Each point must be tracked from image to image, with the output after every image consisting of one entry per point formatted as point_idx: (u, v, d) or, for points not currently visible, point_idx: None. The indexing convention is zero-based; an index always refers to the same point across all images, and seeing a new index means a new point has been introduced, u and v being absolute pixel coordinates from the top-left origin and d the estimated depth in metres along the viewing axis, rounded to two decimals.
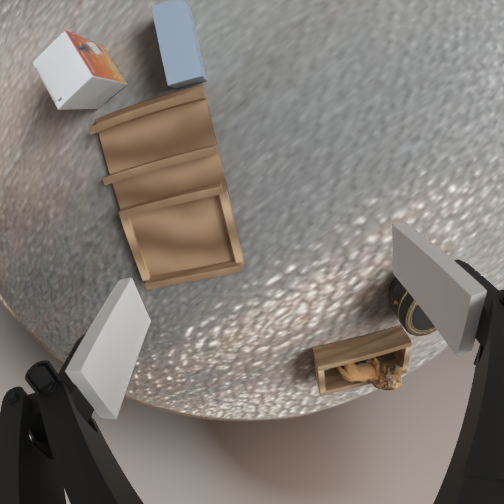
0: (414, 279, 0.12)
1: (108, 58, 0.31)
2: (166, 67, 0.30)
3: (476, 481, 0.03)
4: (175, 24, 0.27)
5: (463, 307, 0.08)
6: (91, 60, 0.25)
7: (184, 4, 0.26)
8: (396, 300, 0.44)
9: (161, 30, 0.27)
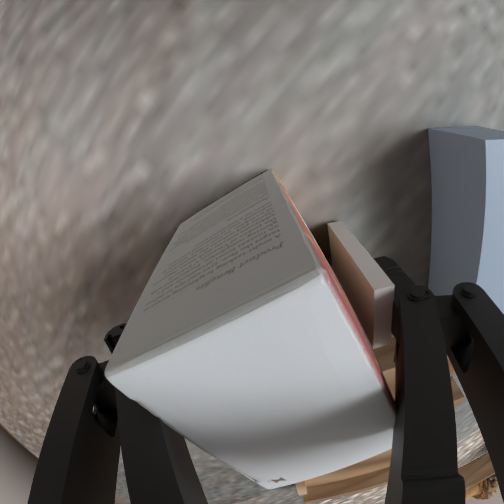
0: (343, 275, 0.14)
1: None
2: None
3: (416, 484, 0.04)
4: None
5: (371, 301, 0.10)
6: None
7: None
8: None
9: (492, 223, 0.11)
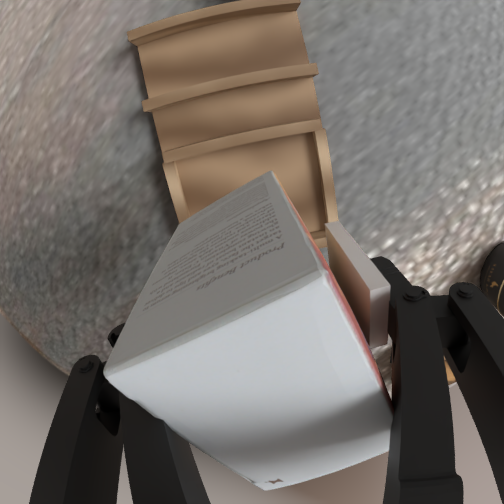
0: (340, 275, 0.14)
1: None
2: None
3: (414, 484, 0.04)
4: None
5: (367, 301, 0.10)
6: None
7: None
8: (495, 281, 0.31)
9: None
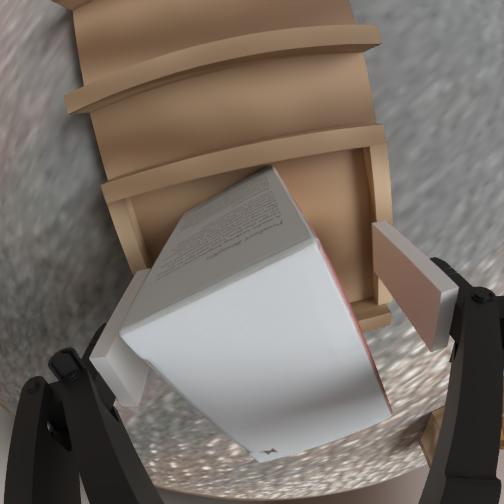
0: (392, 276, 0.13)
1: None
2: None
3: (458, 480, 0.03)
4: None
5: (435, 303, 0.09)
6: None
7: None
8: None
9: None
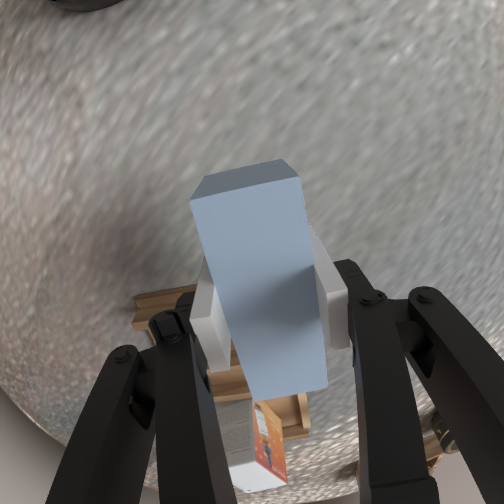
0: None
1: (265, 408, 0.34)
2: (250, 374, 0.14)
3: (385, 490, 0.04)
4: (271, 274, 0.12)
5: (325, 304, 0.11)
6: (277, 462, 0.29)
7: (300, 208, 0.11)
8: (440, 430, 0.38)
9: (230, 288, 0.12)
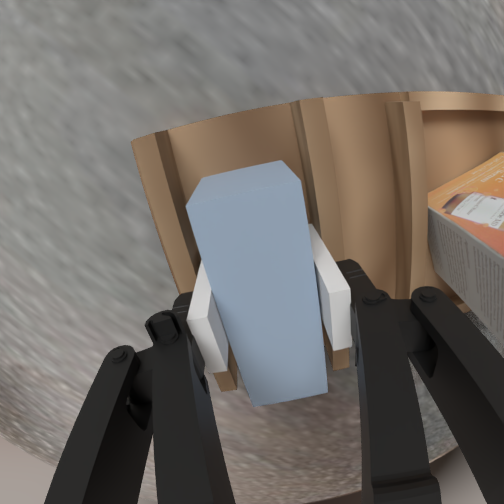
0: None
1: (466, 182, 0.14)
2: (249, 380, 0.14)
3: (387, 489, 0.04)
4: (271, 281, 0.12)
5: (328, 303, 0.11)
6: None
7: (301, 214, 0.11)
8: None
9: (229, 295, 0.12)
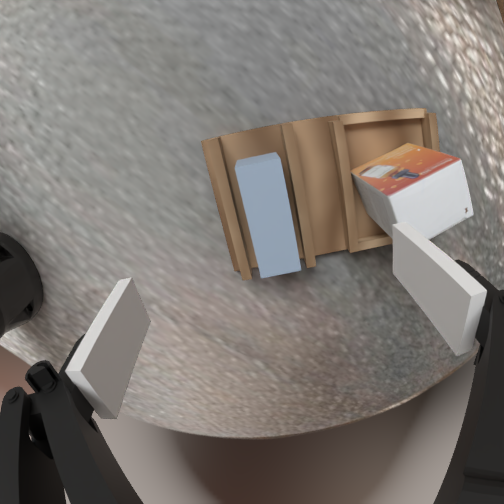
0: (414, 279, 0.12)
1: (377, 160, 0.29)
2: (259, 258, 0.30)
3: (476, 481, 0.03)
4: (269, 201, 0.27)
5: (463, 307, 0.08)
6: (425, 165, 0.23)
7: (281, 171, 0.26)
8: None
9: (251, 207, 0.28)
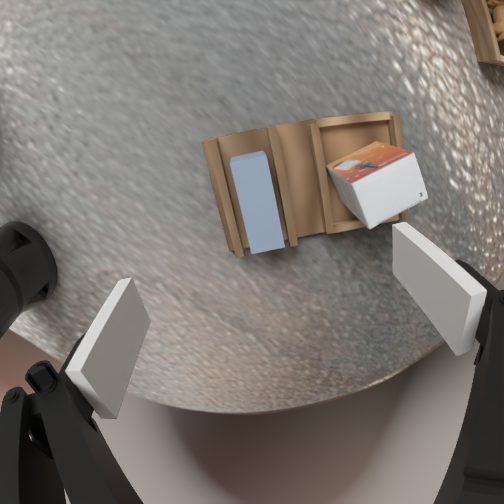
0: (414, 279, 0.12)
1: (348, 156, 0.36)
2: (250, 236, 0.36)
3: (476, 481, 0.03)
4: (257, 189, 0.34)
5: (463, 307, 0.08)
6: (384, 158, 0.29)
7: (267, 166, 0.33)
8: None
9: (243, 195, 0.34)
